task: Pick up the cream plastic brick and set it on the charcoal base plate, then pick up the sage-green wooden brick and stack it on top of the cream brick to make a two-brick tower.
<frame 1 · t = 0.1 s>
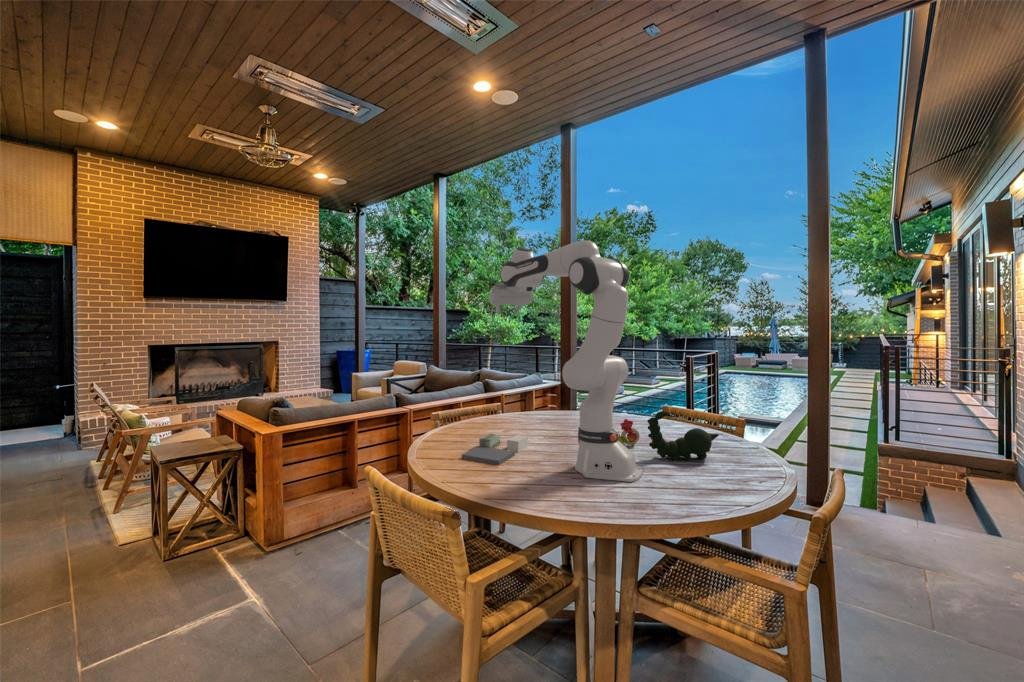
hand: (506, 312, 196), 54 cm above the table, tool tilted 30°, fingers open, 8 cm apart
base plate: (488, 456, 167), on the table
sage brick: (490, 447, 180), on the table
toy figurine: (683, 459, 163), on the table
bird rattle: (627, 446, 179), on the table
cream brick: (517, 449, 177), on the table
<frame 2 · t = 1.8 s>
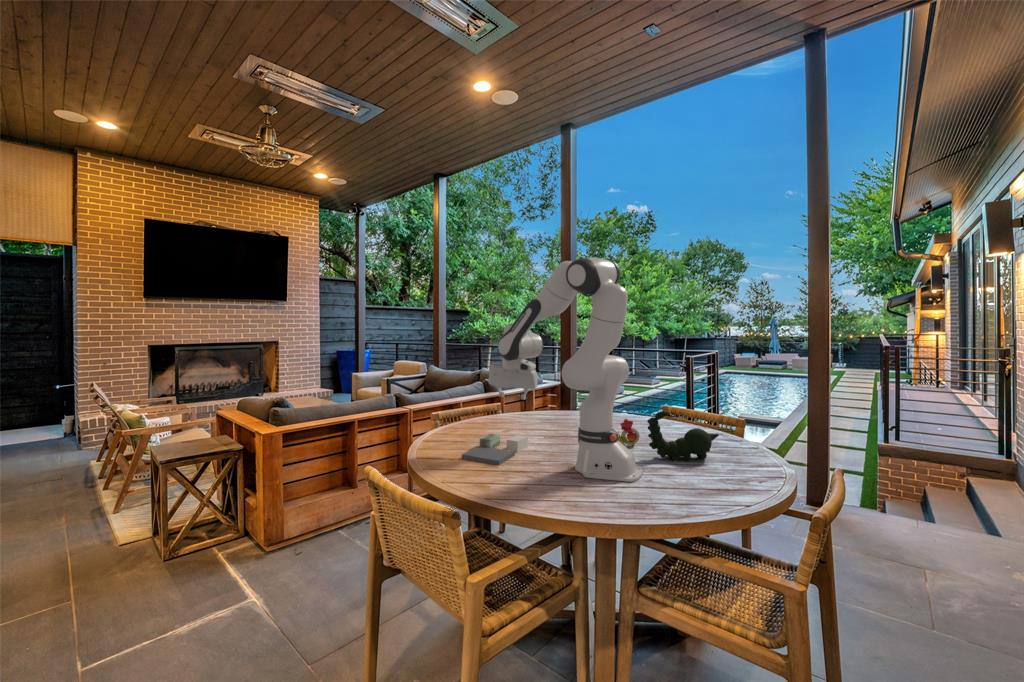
hand: (512, 397, 178), 20 cm above the table, tool pointing down, fingers open, 8 cm apart
nothing on the table moved.
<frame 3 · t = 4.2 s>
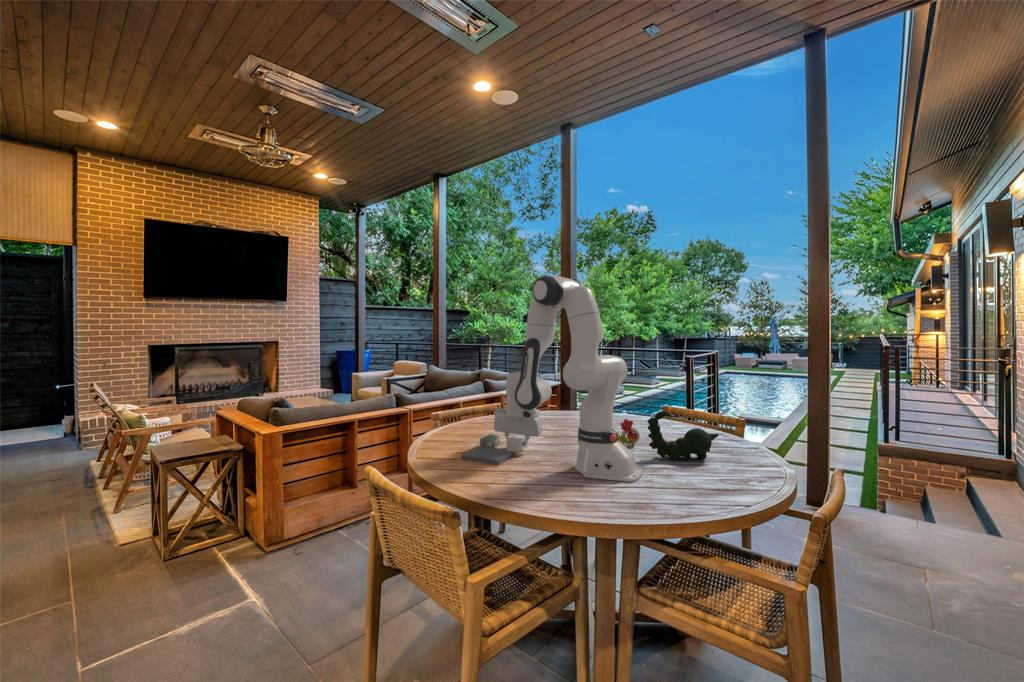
hand: (517, 444, 177), 2 cm above the table, tool pointing down, fingers closed on cream brick, 5 cm apart
cream brick: (517, 448, 177), on the table, touching gripper
everything else where it was.
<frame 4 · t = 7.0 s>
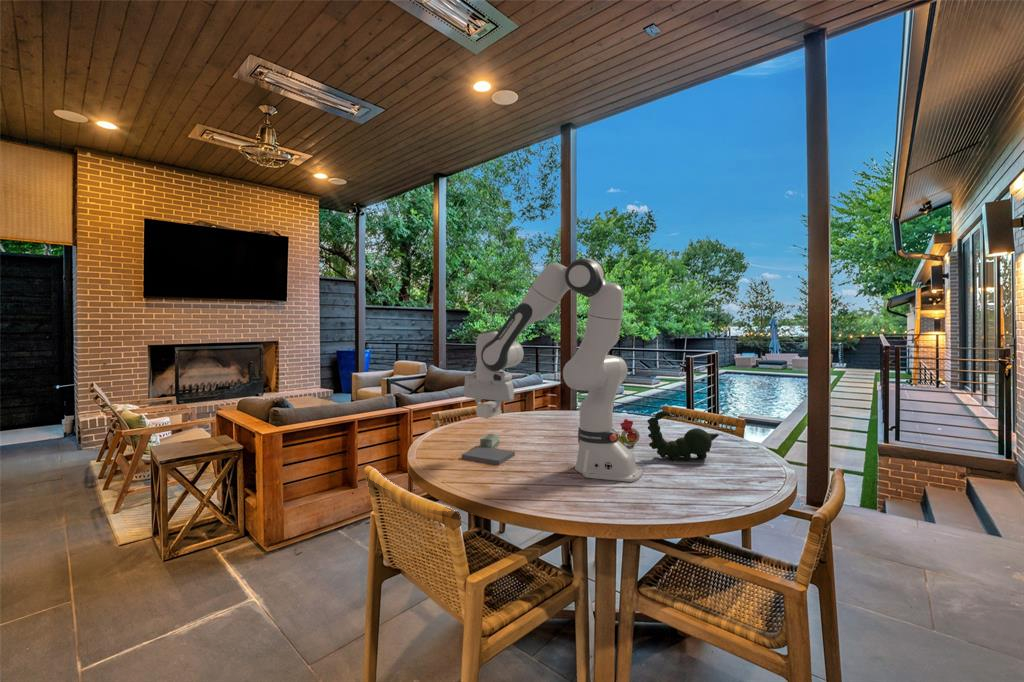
hand: (488, 411, 166), 17 cm above the table, tool pointing down, fingers closed on cream brick, 5 cm apart
cream brick: (488, 415, 167), point 16 cm above the table, touching gripper
everything else where it was.
when the fingers open (4 cm above the table, at t = 10.0 s): cream brick stays where it is, resting on base plate.
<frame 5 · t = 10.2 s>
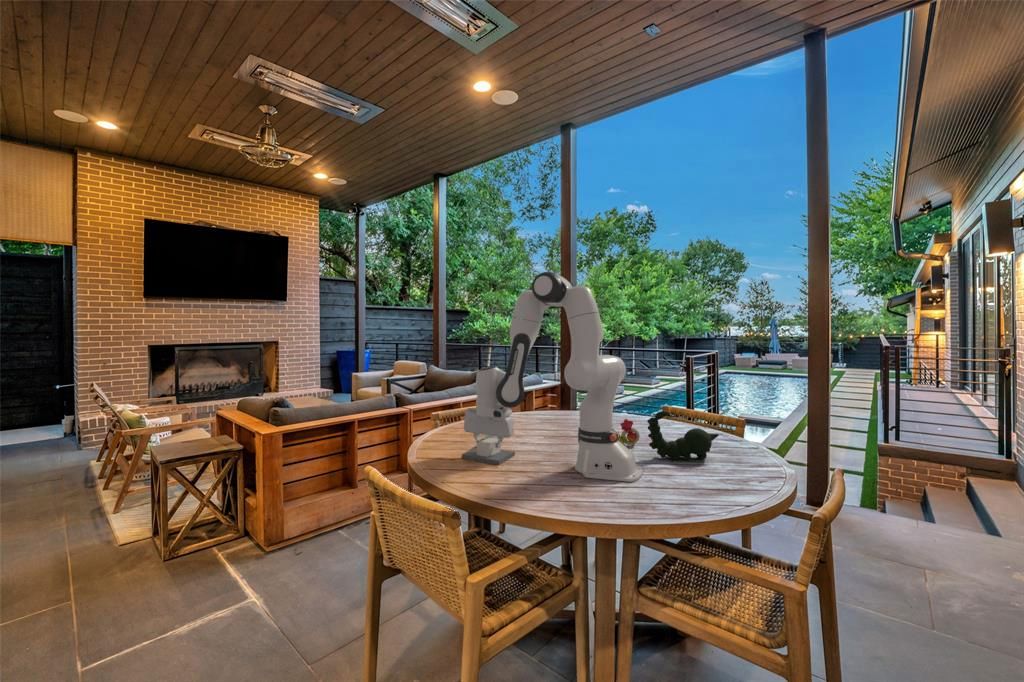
hand: (488, 446, 167), 4 cm above the table, tool pointing down, fingers open, 7 cm apart
cream brick: (488, 452, 167), point 1 cm above the table, touching base plate
everything else where it was.
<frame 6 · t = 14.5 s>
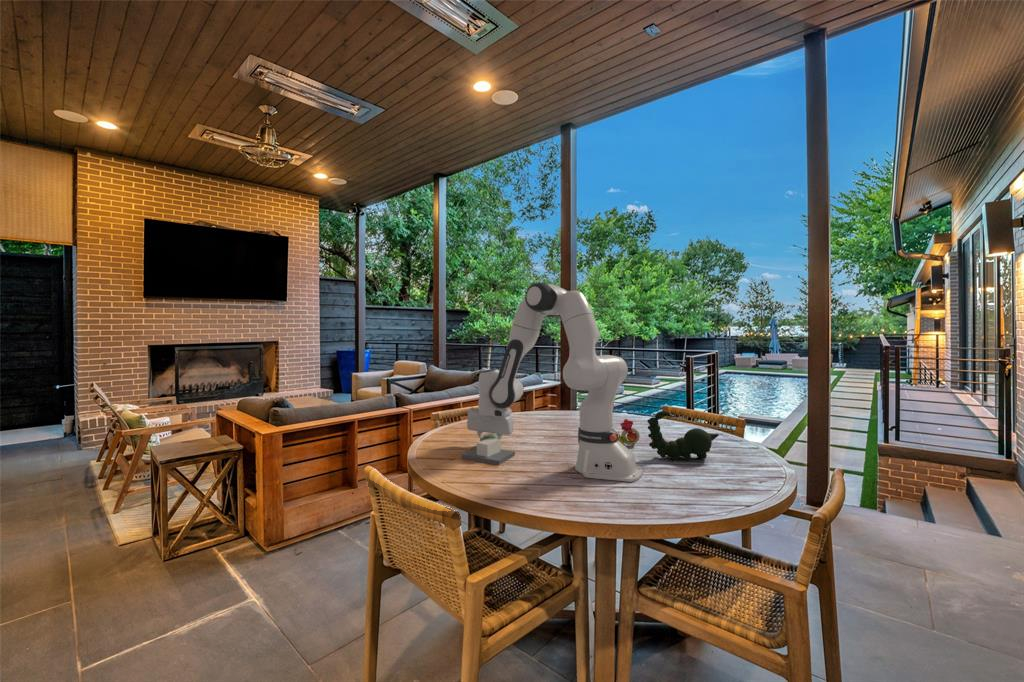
hand: (489, 443, 179), 2 cm above the table, tool pointing down, fingers closed on sage brick, 6 cm apart
sage brick: (489, 447, 180), on the table, touching gripper
everything else where it was.
when the fingers open (9 cm above the table, at t = 19.7 s): sage brick stays where it is, resting on cream brick.
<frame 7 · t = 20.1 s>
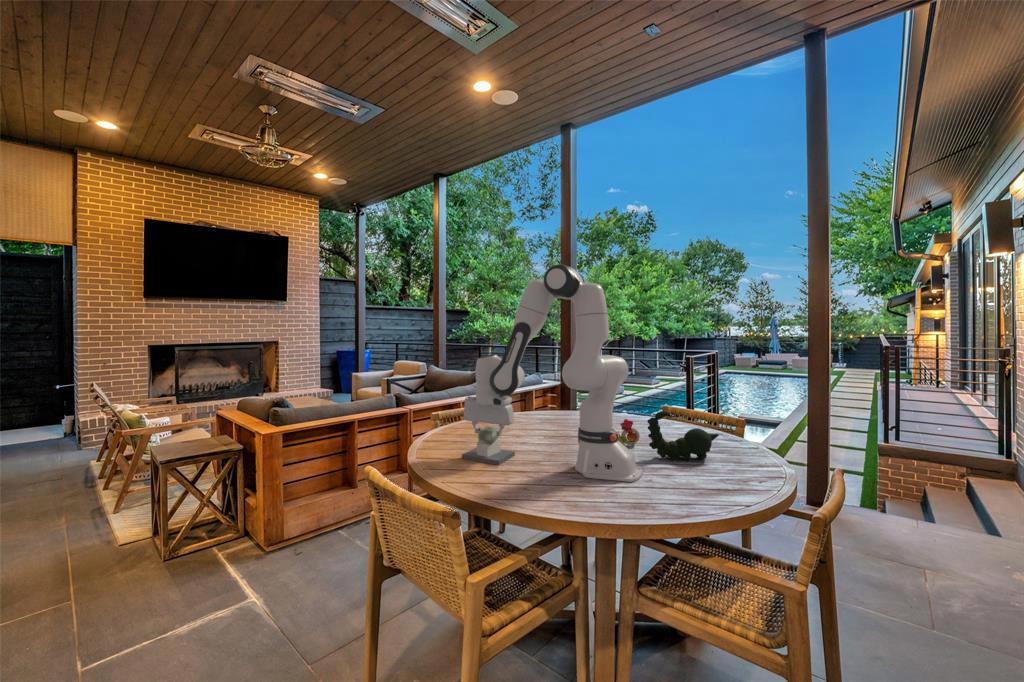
hand: (488, 434, 166), 9 cm above the table, tool pointing down, fingers open, 8 cm apart
sage brick: (488, 441, 167), point 6 cm above the table, touching cream brick
cream brick: (488, 452, 167), point 1 cm above the table, touching base plate, sage brick
everything else where it was.
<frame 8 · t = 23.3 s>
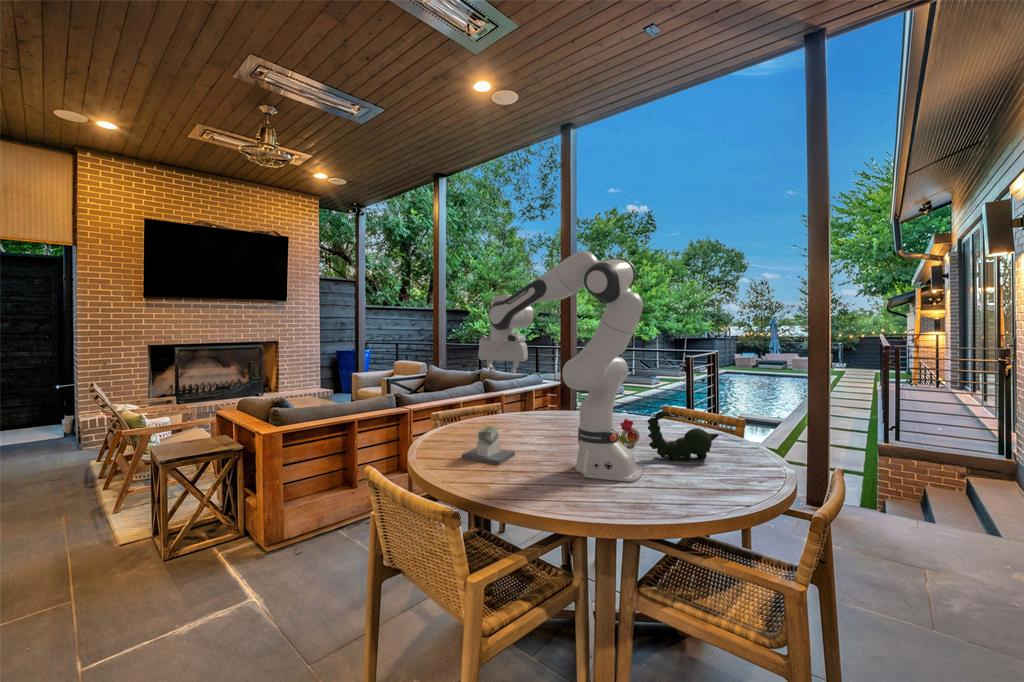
hand: (502, 372, 171), 31 cm above the table, tool pointing down, fingers open, 8 cm apart
nothing on the table moved.
at the end: cream brick inside the target area (0.1 cm from its centre), point 1.5 cm above the table; sage brick 0.0 cm off-centre on the cream brick, point 4.5 cm above the cream brick's base; sage brick tilted 0° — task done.
